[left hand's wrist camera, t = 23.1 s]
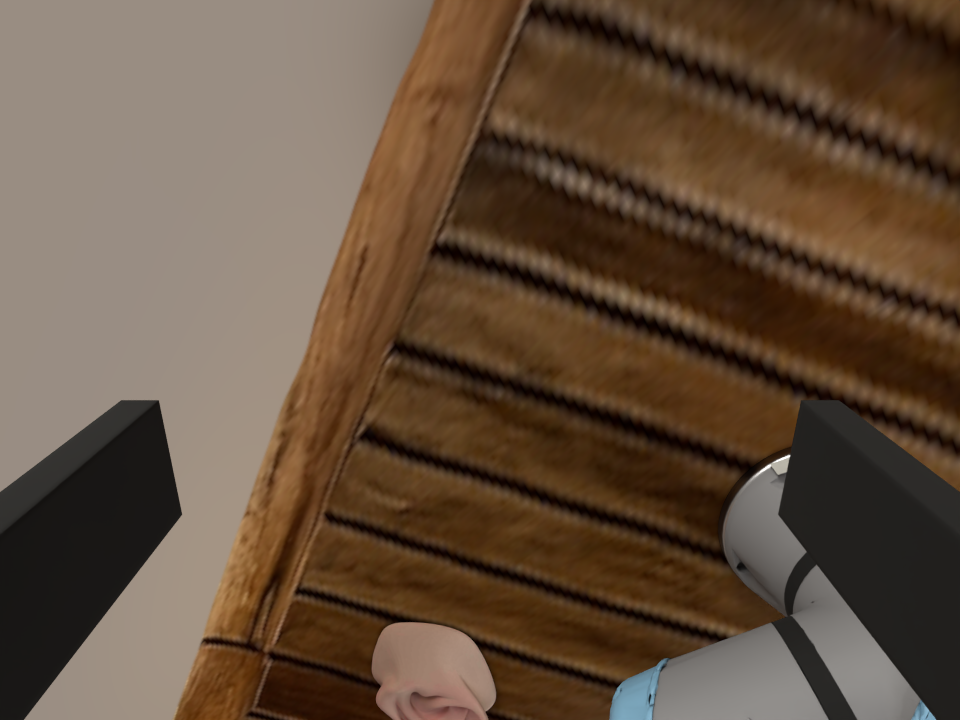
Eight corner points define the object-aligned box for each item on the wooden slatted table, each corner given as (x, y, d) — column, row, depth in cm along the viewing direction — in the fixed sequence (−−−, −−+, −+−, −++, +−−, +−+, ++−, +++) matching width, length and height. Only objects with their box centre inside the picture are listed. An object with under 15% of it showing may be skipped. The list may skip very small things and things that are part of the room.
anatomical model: (351, 661, 54) (479, 645, 53) (359, 626, 58) (480, 611, 57) (383, 765, 58) (501, 751, 58) (388, 727, 62) (500, 714, 62)
